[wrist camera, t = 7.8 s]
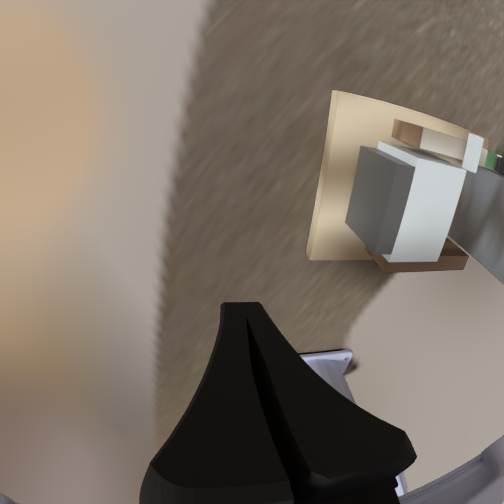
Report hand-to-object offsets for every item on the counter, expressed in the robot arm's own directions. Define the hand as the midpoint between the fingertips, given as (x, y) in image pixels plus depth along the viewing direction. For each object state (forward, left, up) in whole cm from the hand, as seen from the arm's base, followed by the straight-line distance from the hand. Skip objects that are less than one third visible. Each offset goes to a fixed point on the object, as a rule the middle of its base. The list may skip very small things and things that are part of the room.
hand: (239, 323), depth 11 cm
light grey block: (+4, -11, -8) cm, 14 cm away
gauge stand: (+3, -13, -10) cm, 16 cm away
